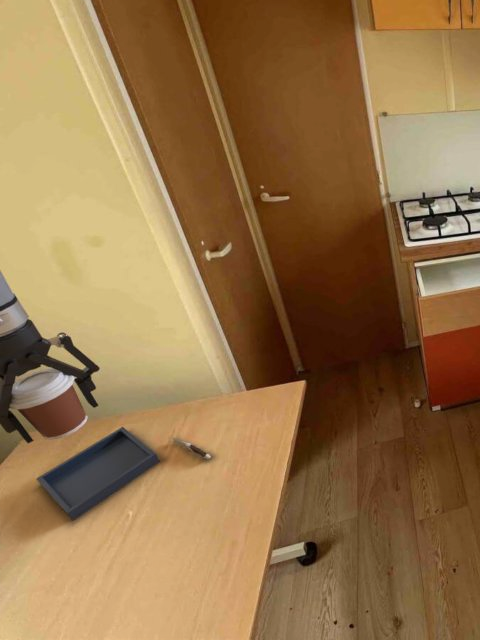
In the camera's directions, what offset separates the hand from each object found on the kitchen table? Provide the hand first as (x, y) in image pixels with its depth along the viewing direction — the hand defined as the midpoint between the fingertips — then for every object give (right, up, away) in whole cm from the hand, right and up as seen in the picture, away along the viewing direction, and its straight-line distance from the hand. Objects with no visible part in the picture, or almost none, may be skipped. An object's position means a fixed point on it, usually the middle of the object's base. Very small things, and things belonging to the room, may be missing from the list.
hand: (62, 420), depth 83 cm
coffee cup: (0, -1, +1) cm, 2 cm away
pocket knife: (+12, -14, +18) cm, 26 cm away
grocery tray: (-4, -16, +12) cm, 21 cm away
